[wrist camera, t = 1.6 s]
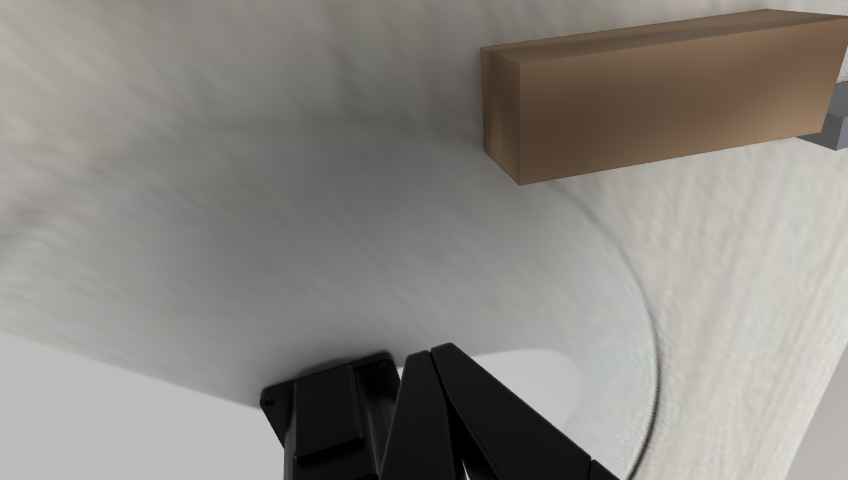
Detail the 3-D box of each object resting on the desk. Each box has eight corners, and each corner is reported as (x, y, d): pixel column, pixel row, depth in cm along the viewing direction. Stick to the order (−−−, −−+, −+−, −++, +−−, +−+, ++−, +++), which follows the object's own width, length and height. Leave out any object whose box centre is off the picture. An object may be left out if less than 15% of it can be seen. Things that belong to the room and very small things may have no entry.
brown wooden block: (739, 106, 22) (820, 132, 19) (482, 149, 20) (519, 185, 17) (762, 8, 20) (856, 16, 17) (479, 46, 18) (520, 63, 15)
